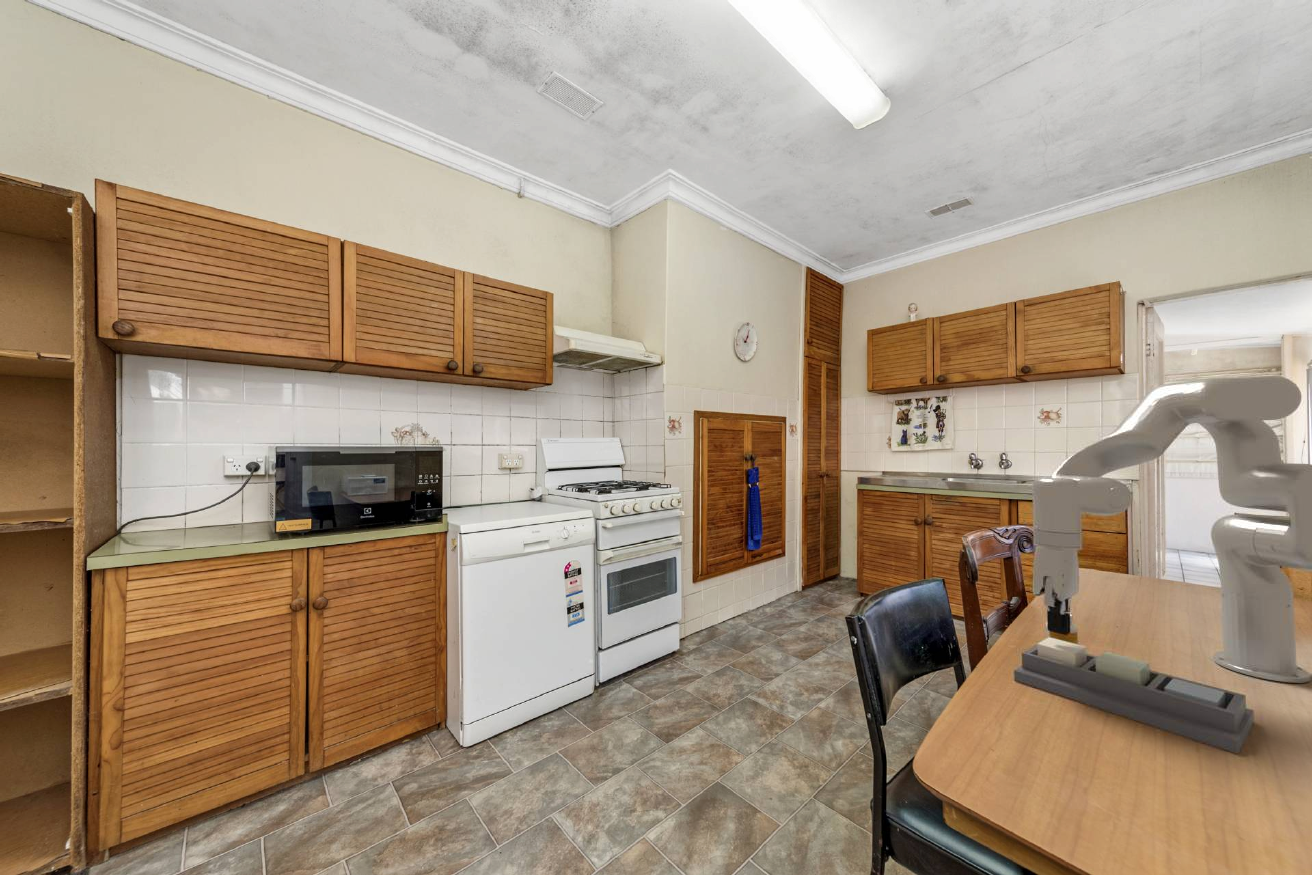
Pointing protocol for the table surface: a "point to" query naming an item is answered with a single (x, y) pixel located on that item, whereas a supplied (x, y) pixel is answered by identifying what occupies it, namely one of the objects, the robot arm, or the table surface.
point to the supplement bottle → (1070, 637)
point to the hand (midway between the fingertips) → (1058, 631)
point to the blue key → (1196, 692)
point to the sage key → (1123, 668)
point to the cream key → (1062, 651)
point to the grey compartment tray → (1142, 700)
